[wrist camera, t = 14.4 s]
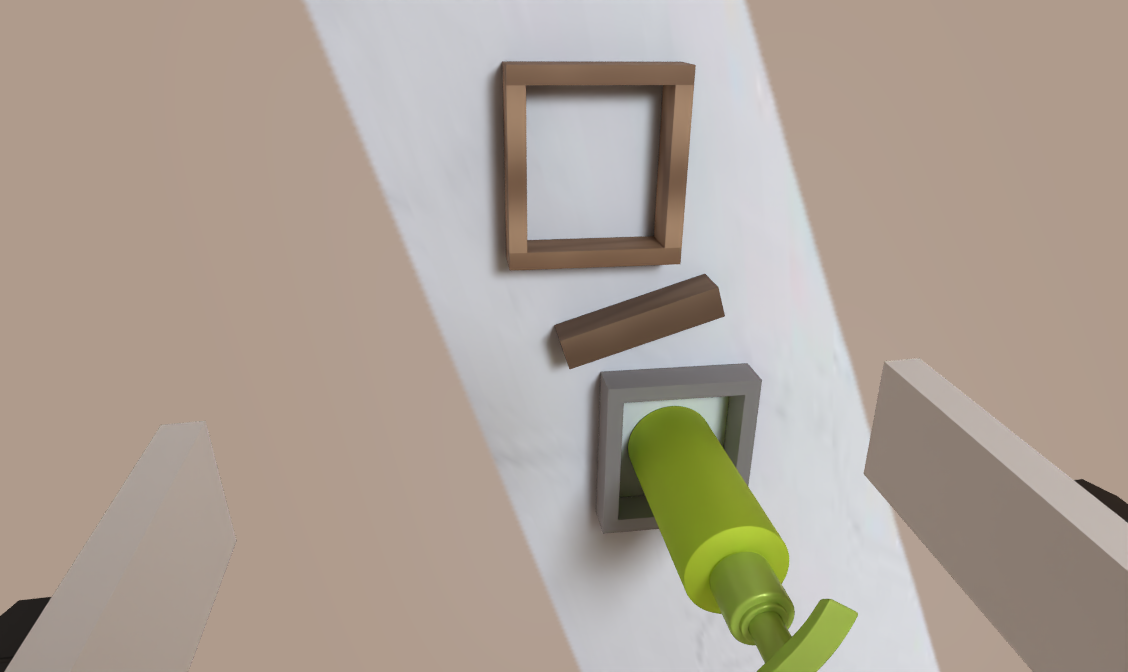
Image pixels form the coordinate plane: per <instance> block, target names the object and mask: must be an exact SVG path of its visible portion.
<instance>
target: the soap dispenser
mask: <svg viewBox="0 0 1128 672" xmlns="http://www.w3.org/2000/svg"><path fill="white" fill-rule="evenodd" d="M628 454H629V458H630V461H631V463H632V465H633V468H634V470H635V472H636V475H637V477H638V480H639V482H640V484H641V487H642V489H643V491H644V494H645V496H646V498H647V501H648V503H649V506H650V508H651V510H652V513H653V515H654V517H655V520H656V522H657V524H658V527H659V529H660V532H661V534H662V536H663V539H664V541H665V543H666V546H667V548H668V551H669V553H670V555H671V558H672V560H673V562H674V565H675V567H676V569H677V572H678V574H679V577H680V579H681V581H682V584H683V586H684V588H685V591H686V593H687V595H688V596H689V598H690V599H691V600H692V602H693V603H695V604H696V605H697V606H698V607H700V608H702V609H704V610H706V611H709V612H713V613H719V614H722V615H723V617H724V619H725V621H726V623H727V626H728V628H729V630H730V632H731V634H732V635H733V636H734V638H735V639H737V640H738V641H739V642H741V643H744V644H747V645H756V646H757V648H758V650H759V652H760V654H761V656H762V658H763V660H764V662H765V664H764V665H763V666H762V667H761V668H760V669H759V670H758V671H757V672H817V671H818V670H819V669H820V668H821V667H822V666H823V664H824V663H825V662H826V661H827V660H828V659H829V658H830V657H831V656H832V654H833V653H834V652H835V651H836V649H837V648H838V647H839V645H840V644H841V643H842V641H843V640H844V638H845V637H846V635H847V633H848V632H849V630H850V629H851V627H852V625H853V624H854V622H855V620H856V618H857V616H858V613H857V612H855V611H853V610H852V609H850V608H848V607H846V606H844V605H842V604H840V603H838V602H836V601H834V600H832V599H822V600H820V601H819V603H818V604H817V606H816V607H815V609H814V610H813V612H812V613H811V615H810V616H809V618H808V619H807V620H806V622H805V623H804V624H803V625H802V627H801V628H800V629H799V630H798V631H797V632H796V633H795V634H794V635H793V636H791V634H790V633H789V631H788V629H789V627H790V626H791V624H792V622H793V619H794V614H795V611H794V606H793V603H792V601H791V600H790V598H789V596H788V594H787V593H786V591H785V589H784V588H783V586H782V582H783V581H784V579H785V577H786V574H787V571H788V567H789V553H788V550H787V547H786V545H785V543H784V542H783V540H782V539H781V537H780V535H779V534H778V532H777V531H776V529H775V528H774V526H773V525H772V523H771V521H770V520H769V518H768V517H767V515H766V514H765V512H764V511H763V509H762V507H761V506H760V504H759V503H758V501H757V500H756V498H755V497H754V495H753V494H752V492H751V490H750V489H749V487H748V486H747V484H746V483H745V481H744V480H743V478H742V476H741V475H740V473H739V472H738V470H737V469H736V467H735V466H734V464H733V463H732V461H731V459H730V458H729V456H728V455H727V453H726V452H725V450H724V449H723V447H722V445H721V444H720V442H719V441H718V439H717V438H716V436H715V435H714V433H713V431H712V430H711V428H710V427H709V425H708V424H707V422H706V421H705V419H704V418H703V417H702V416H701V415H700V414H699V413H697V412H696V411H694V410H692V409H689V408H686V407H681V406H670V407H664V408H661V409H658V410H655V411H653V412H651V413H650V414H648V415H647V416H645V417H644V418H643V419H642V420H641V421H640V422H639V423H638V424H637V425H636V426H635V428H634V430H633V431H632V433H631V436H630V439H629V443H628Z"/></svg>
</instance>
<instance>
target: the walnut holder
mask: <svg viewBox="0 0 1128 672" xmlns="http://www.w3.org/2000/svg"><path fill="white" fill-rule="evenodd" d="M502 69H503V119H504V169H505V219H506V258H507V262H508V265H509V269H510V270H535V269H562V268H589V267H616V266H643V265H669V264H680V262H681V248H682V235H683V222H684V209H685V196H686V183H687V170H688V157H689V144H690V130H691V117H692V104H693V91H694V78H695V65H693V64H689V63H684V62H502ZM526 85H663V91H662V108H661V124H660V141H659V157H658V174H657V190H656V207H655V223H654V236H647V237H615V238H584V239H552V240H527V164H526Z"/></svg>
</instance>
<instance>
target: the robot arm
mask: <svg viewBox="0 0 1128 672" xmlns="http://www.w3.org/2000/svg"><path fill="white" fill-rule="evenodd" d="M864 475H865V476H866V477H867V478H868V479H869V481H870V482H871V483H872V484H873V485H874V486H875V488H876V489H877V490H878V491H879V492H880V493H881V495H882V496H883V497H884V498H885V499H886V500H887V502H888V503H889V504H890V505H891V506H892V507H893V509H894V510H895V511H896V512H897V513H898V514H899V516H900V517H901V518H902V519H903V520H904V522H905V523H906V524H907V525H908V526H909V527H910V528H911V529H912V531H913V532H914V533H915V534H916V536H917V537H918V538H919V539H920V540H921V541H922V543H923V544H924V545H925V546H926V547H927V548H928V550H929V551H930V552H931V553H932V554H933V555H934V556H935V558H936V559H937V560H938V561H939V562H940V564H941V565H942V566H943V567H944V568H945V569H946V571H947V572H948V573H949V574H950V575H951V577H952V578H953V579H954V580H955V581H956V582H957V584H958V585H959V586H960V587H961V588H962V589H963V591H964V592H965V593H966V594H967V595H968V596H969V597H970V599H971V600H972V601H973V602H974V603H975V605H976V606H977V607H978V608H979V609H980V610H981V612H982V613H983V614H984V615H985V616H986V617H987V619H988V620H989V621H990V622H991V623H992V624H993V626H994V627H995V628H996V629H997V630H998V632H999V633H1000V634H1001V635H1002V636H1003V637H1004V638H1005V640H1006V641H1007V642H1008V643H1009V644H1010V646H1011V647H1012V648H1013V649H1014V650H1015V651H1016V653H1017V654H1018V655H1019V656H1020V657H1021V658H1022V660H1023V661H1024V662H1025V663H1026V664H1027V665H1028V667H1029V668H1030V669H1031V670H1032V671H1033V672H1128V504H1127V503H1126V502H1124V501H1123V500H1122V499H1120V498H1119V497H1117V496H1116V495H1114V494H1112V493H1109V492H1107V491H1105V490H1103V489H1101V488H1099V487H1097V486H1095V485H1093V484H1091V483H1089V482H1087V481H1085V480H1083V479H1080V480H1073V479H1071V478H1070V477H1069V476H1068V475H1066V474H1065V473H1064V472H1063V471H1061V470H1060V469H1058V467H1056V466H1055V465H1054V464H1052V463H1051V462H1050V461H1049V460H1047V459H1046V458H1045V457H1043V456H1042V455H1041V454H1040V453H1039V452H1037V451H1036V450H1035V449H1033V448H1032V447H1031V446H1030V445H1029V444H1027V443H1026V442H1025V441H1023V440H1022V439H1021V438H1020V437H1018V436H1017V435H1016V434H1014V433H1013V432H1012V431H1011V430H1009V429H1008V428H1007V427H1006V426H1004V425H1003V424H1002V423H1001V422H999V421H998V420H997V419H996V418H994V417H993V416H992V415H991V414H989V413H988V412H987V411H986V410H984V409H983V408H982V407H980V406H979V405H978V404H977V403H975V402H974V401H973V400H972V399H970V398H969V397H968V396H967V395H965V394H964V393H963V392H961V391H960V390H959V389H957V388H956V387H955V386H954V385H952V384H951V383H950V382H949V381H948V380H946V379H945V378H944V377H943V376H941V375H940V374H939V373H937V372H936V371H935V370H934V369H932V368H931V367H930V366H928V365H927V364H926V363H925V362H924V361H922V360H921V359H919V358H917V359H906V360H894V361H884V366H883V372H882V376H881V382H880V387H879V393H878V398H877V404H876V409H875V415H874V420H873V426H872V431H871V437H870V442H869V448H868V453H867V458H866V464H865V469H864ZM236 541H237V540H236V537H235V533H234V529H233V525H232V522H231V518H230V514H229V510H228V506H227V502H226V498H225V495H224V490H223V486H222V483H221V479H220V475H219V471H218V467H217V464H216V459H215V455H214V452H213V448H212V444H211V440H210V436H209V432H208V429H207V425H206V421H199V422H188V423H177V424H165V425H161V426H160V427H159V429H158V430H157V432H156V434H155V435H154V437H153V438H152V440H151V441H150V443H149V445H148V446H147V448H146V449H145V451H144V453H143V454H142V456H141V457H140V459H139V460H138V462H137V463H136V465H135V467H134V468H133V470H132V471H131V473H130V475H129V476H128V478H127V479H126V481H125V482H124V484H123V486H122V487H121V489H120V490H119V492H118V493H117V495H116V497H115V498H114V500H113V501H112V503H111V505H110V506H109V508H108V509H107V511H106V512H105V514H104V516H103V517H102V519H101V520H100V522H99V523H98V525H97V526H96V528H95V530H94V531H93V533H92V534H91V536H90V538H89V539H88V541H87V542H86V544H85V545H84V547H83V549H82V550H81V552H80V553H79V555H78V556H77V558H76V560H75V561H74V563H73V564H72V566H71V567H70V569H69V571H68V572H67V574H66V576H65V577H64V579H63V580H62V582H61V583H60V585H59V586H58V588H57V589H56V591H55V593H54V594H53V596H52V597H46V598H38V599H29V600H19V601H18V602H17V603H15V604H14V605H13V606H12V607H11V608H9V609H8V610H7V611H6V612H5V613H3V614H2V615H1V616H0V672H188V671H189V669H190V666H191V663H192V660H193V658H194V655H195V652H196V650H197V646H198V644H199V641H200V639H201V636H202V633H203V631H204V628H205V625H206V622H207V620H208V617H209V614H210V612H211V609H212V606H213V603H214V601H215V598H216V595H217V593H218V590H219V587H220V584H221V581H222V579H223V576H224V573H225V571H226V568H227V565H228V563H229V560H230V557H231V554H232V552H233V549H234V546H235V543H236Z"/></svg>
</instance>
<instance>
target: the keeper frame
mask: <svg viewBox="0 0 1128 672" xmlns="http://www.w3.org/2000/svg"><path fill="white" fill-rule="evenodd" d="M761 383H762V380H761V379H760V377H759V376H758V375H757V374H756V373H755V372H754V370H753V369H752V368H751V367H750V366H749V365H748V363H746V364H728V365H711V366H694V367H676V368H659V369H641V370H624V371H606V372H601V380H600V409H599V439H598V468H597V497H596V513H597V516H598V519H599V522H600V526H601V529H602V532H603V533H615V532H626V531H637V530H649V529H659V527H658V524H657V522H656V520H655V517H654V515H653V513H652V510H651V508H650V506H649V503H648V501H647V498H646V496H633V497H621V498H619V489H620V468H621V447H622V427H623V406H624V403H627V402H643V401H658V400H674V399H690V398H706V397H721V396H730V397H729V406H728V415H727V424H726V433H725V442H724V450H725V452H726V453H727V455H728V456H729V458H730V459H731V461H732V463H733V464H734V466H735V467H736V469H737V470H738V472H739V473H740V475H741V476H742V478H743V480H744V481H745V483H746V484H747V486H748V484H749V476H750V468H751V460H752V453H753V445H754V437H755V430H756V422H757V414H758V406H759V399H760V391H761Z"/></svg>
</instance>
